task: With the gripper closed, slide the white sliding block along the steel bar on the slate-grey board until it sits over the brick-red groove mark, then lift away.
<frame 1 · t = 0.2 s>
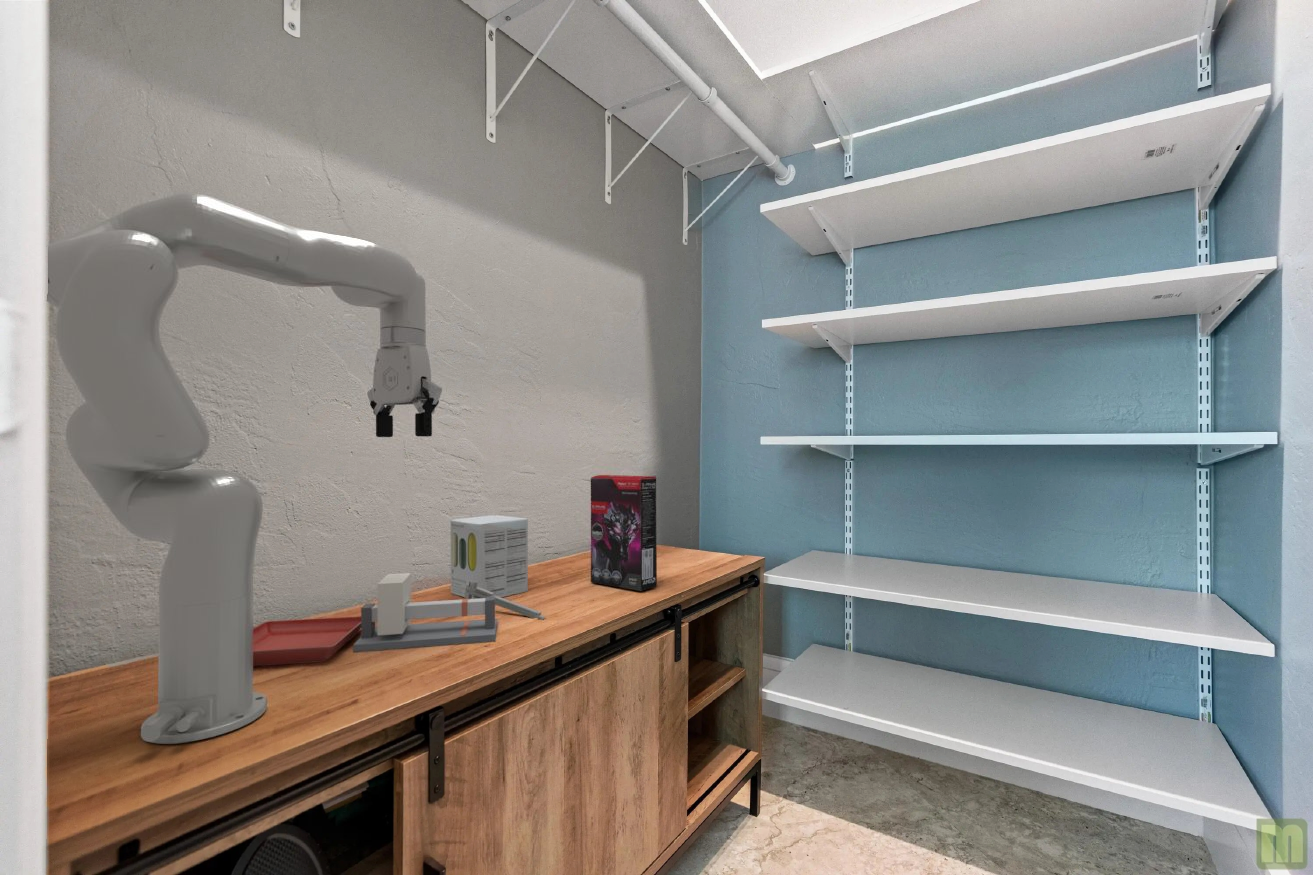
hand: (403, 436, 105), 36 cm above the sideboard, tool pointing down, fingers open, 9 cm apart
white sliding block: (395, 602, 105), point 7 cm above the sideboard, slide at 0.0 cm
graphics card box: (623, 586, 146), on the sideboard
supplement box: (489, 593, 140), on the sideboard
plant saucer: (296, 652, 101), on the sideboard
caliper: (504, 615, 122), on the sideboard
gray slide rail base: (430, 637, 107), on the sideboard
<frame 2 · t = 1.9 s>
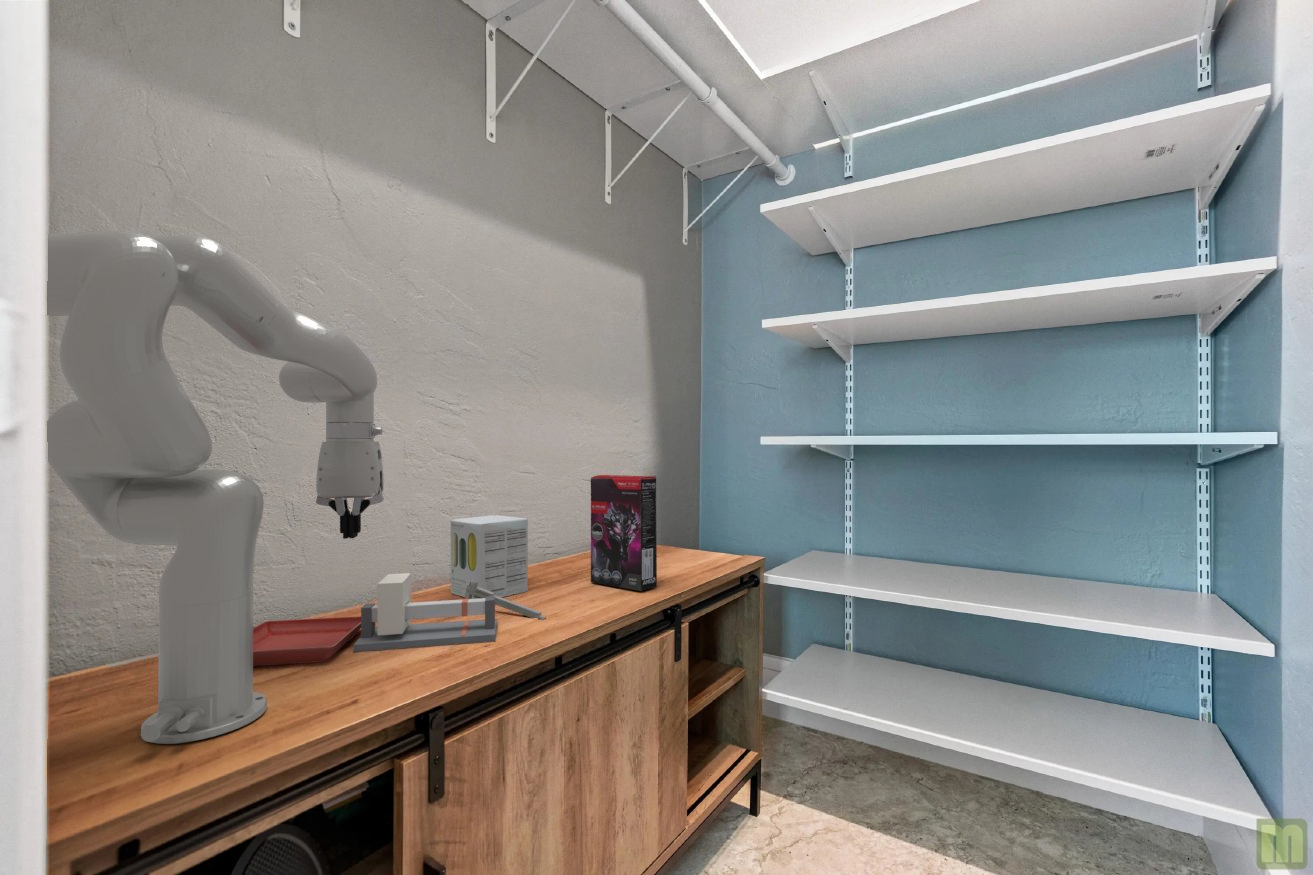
hand: (350, 537, 104), 19 cm above the sideboard, tool pointing down, fingers closed
nothing on the sideboard moved.
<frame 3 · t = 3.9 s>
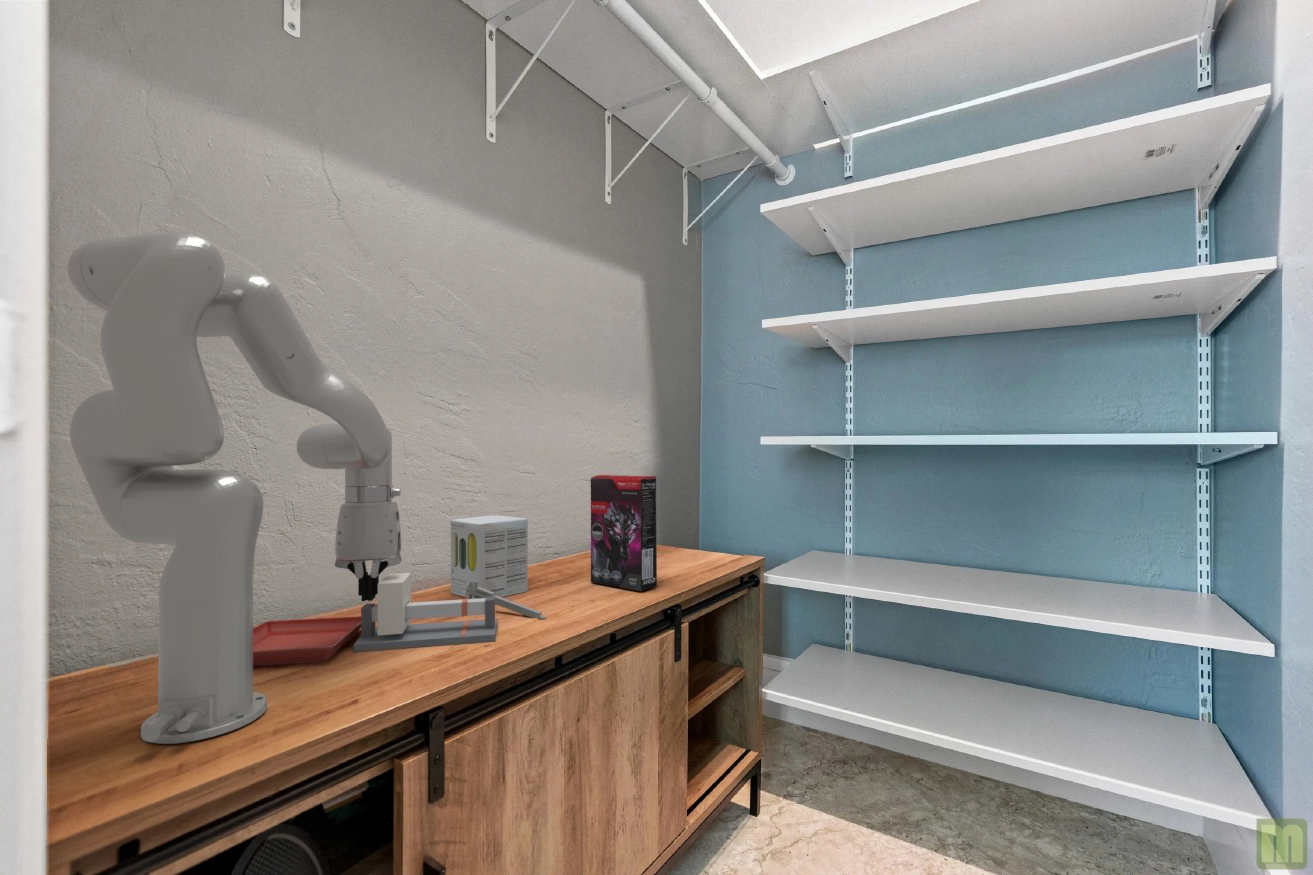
hand: (368, 598, 104), 8 cm above the sideboard, tool pointing down, fingers closed
white sliding block: (395, 602, 105), point 7 cm above the sideboard, slide at 0.0 cm, touching gripper
everything else where it was.
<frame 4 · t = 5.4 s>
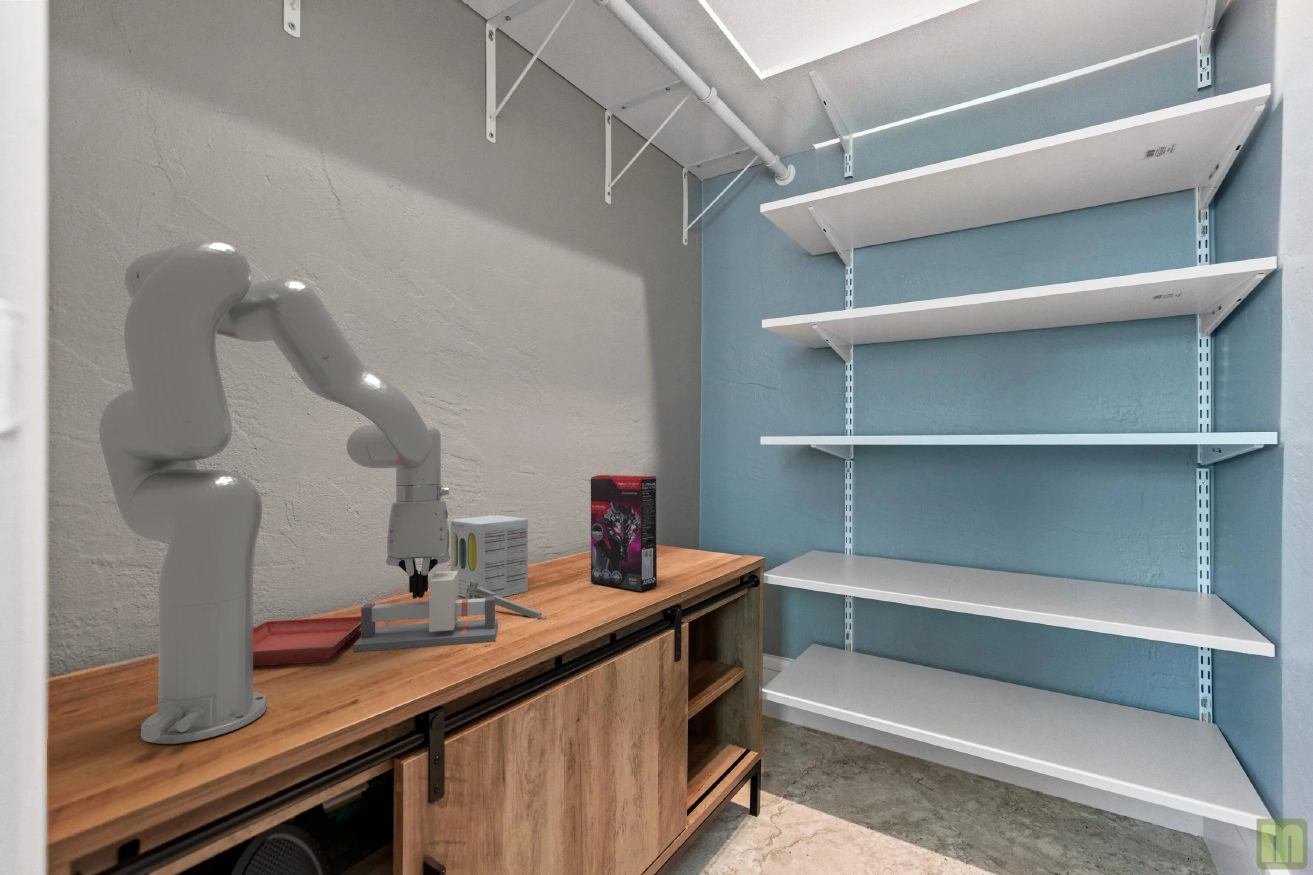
hand: (418, 596, 106), 8 cm above the sideboard, tool pointing down, fingers closed
white sliding block: (444, 599, 107), point 7 cm above the sideboard, slide at 8.4 cm, touching gripper
everything else where it was.
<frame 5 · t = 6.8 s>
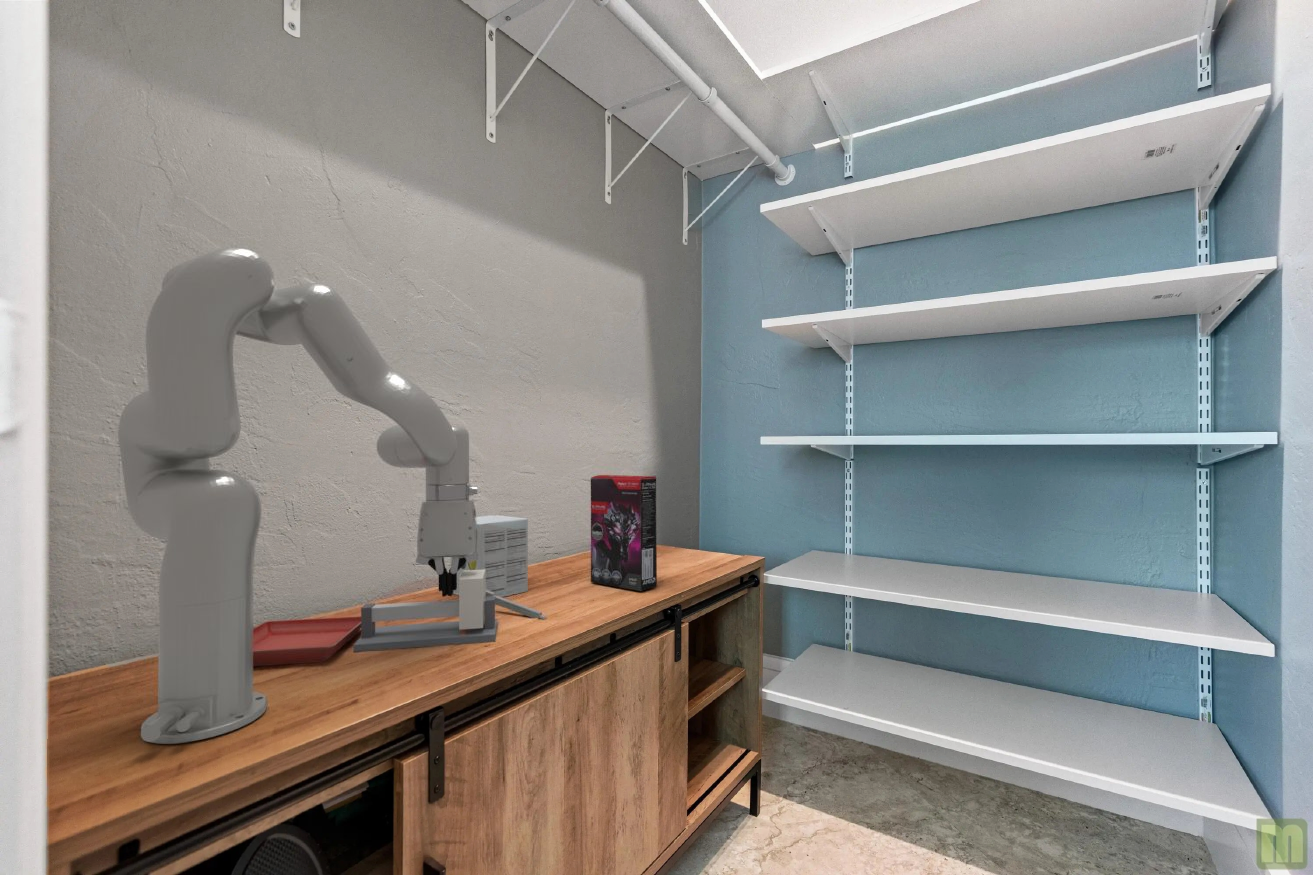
hand: (447, 594, 107), 8 cm above the sideboard, tool pointing down, fingers closed
white sliding block: (472, 598, 108), point 7 cm above the sideboard, slide at 13.4 cm, touching gripper
everything else where it was.
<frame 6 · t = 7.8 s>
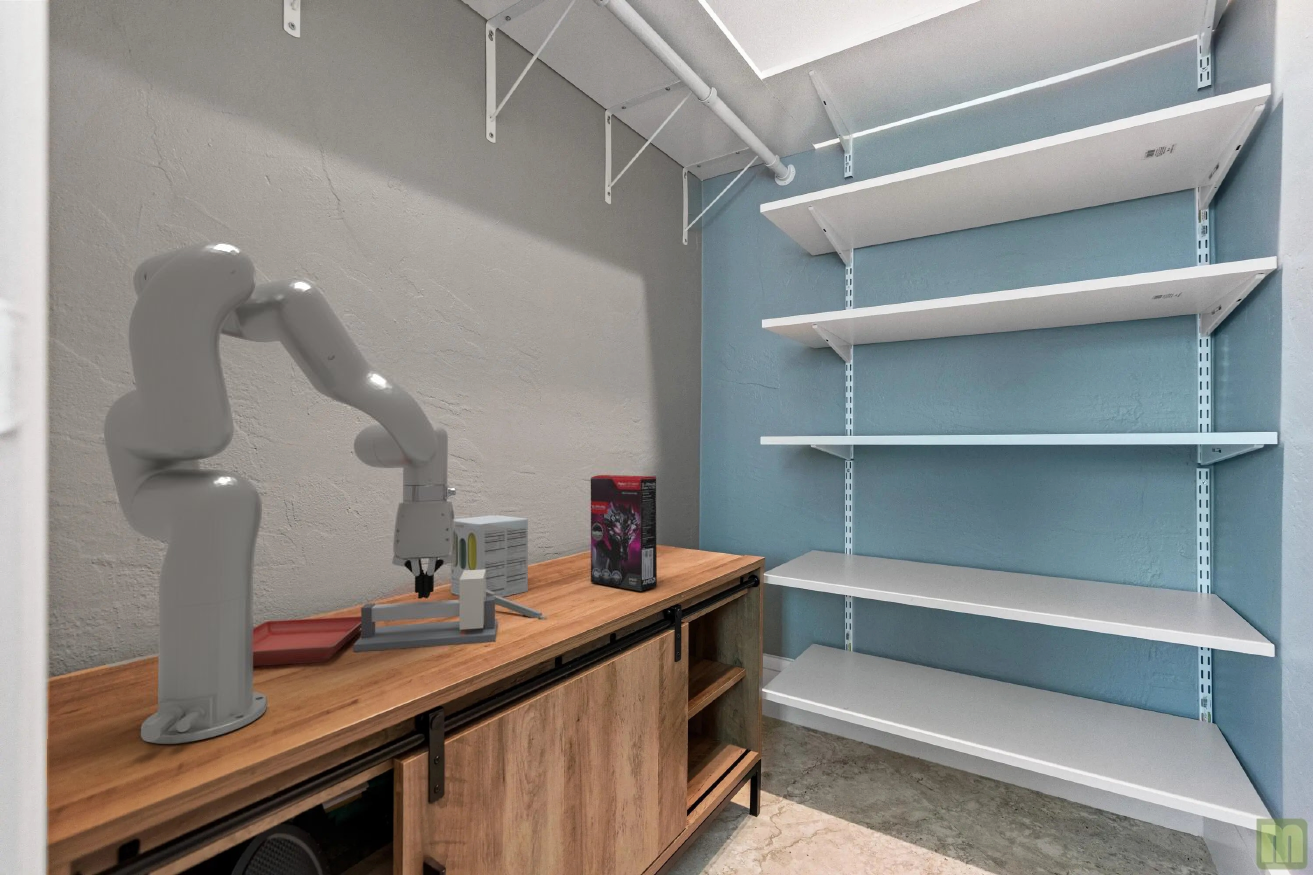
hand: (424, 596, 106), 8 cm above the sideboard, tool pointing down, fingers closed
white sliding block: (473, 598, 108), point 7 cm above the sideboard, slide at 13.4 cm
everything else where it was.
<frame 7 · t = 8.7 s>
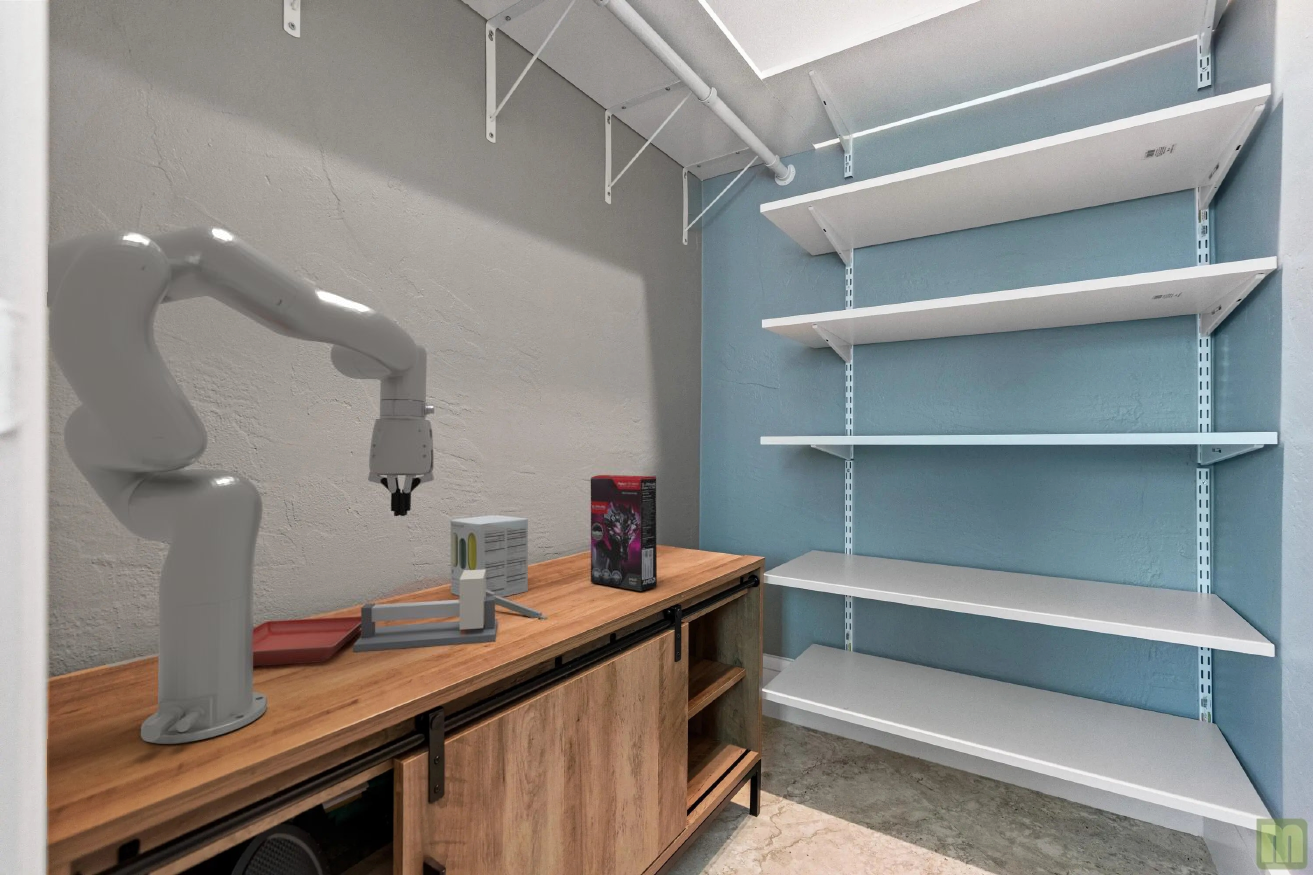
hand: (400, 515, 104), 22 cm above the sideboard, tool pointing down, fingers closed
nothing on the sideboard moved.
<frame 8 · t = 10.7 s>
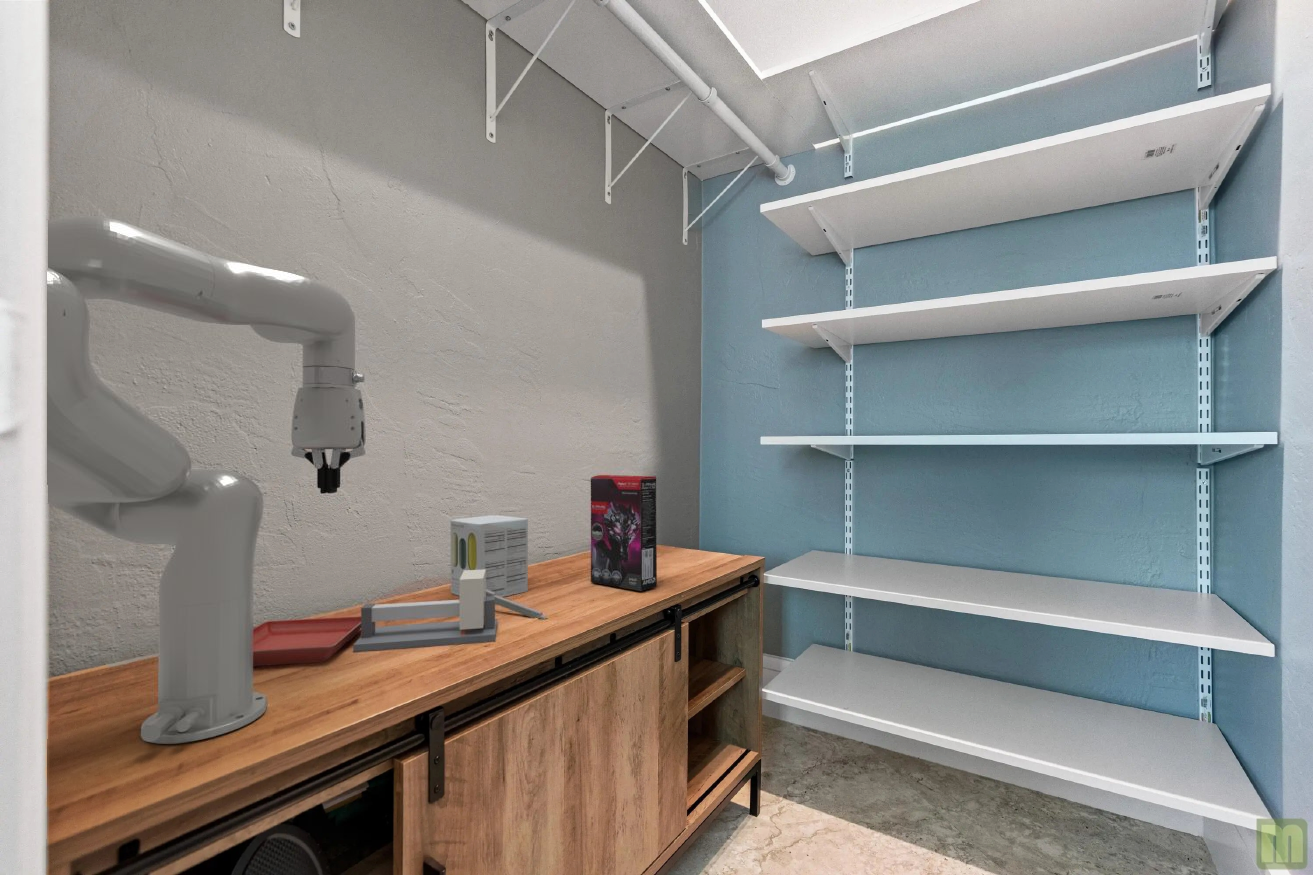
hand: (328, 492, 96), 27 cm above the sideboard, tool pointing down, fingers closed
nothing on the sideboard moved.
at the end: white sliding block slide at 13.4 cm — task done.
